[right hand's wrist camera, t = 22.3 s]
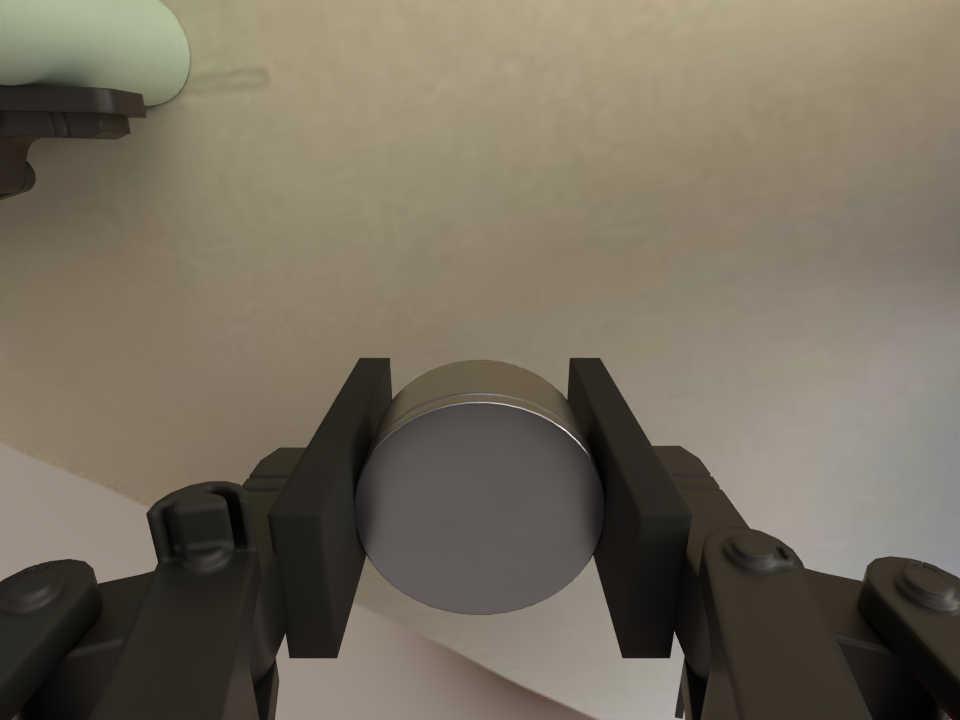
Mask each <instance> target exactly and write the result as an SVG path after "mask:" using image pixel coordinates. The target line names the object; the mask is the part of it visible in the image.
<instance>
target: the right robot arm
mask: <svg viewBox="0 0 960 720" xmlns="http://www.w3.org/2000/svg"><path fill="white" fill-rule="evenodd" d="M391 401H392V388H391V371H390V358H360V359H359V360H358V362H357V364H356V365H355V367H354V369H353V370H352V372H351V374H350V376H349V377H348V379H347V381H346V382H345V384H344V386H343V387H342V389H341V391H340V392H339V394H338V396H337V397H336V399H335V401H334V403H333V404H332V406H331V408H330V409H329V411H328V413H327V414H326V416H325V418H324V419H323V421H322V423H321V424H320V426H319V428H318V430H317V431H316V433H315V435H314V436H313V438H312V440H311V441H310V443H309V445H308V446H307V448H279V449H277V450H276V451H274V452H273V453H271V454H270V455H268V456H267V457H265V458H264V459H262V460H261V461H260V462H259V463H258V465H257V466H256V468H255V469H254V470H253V472H252V473H251V475H250V478H249V479H247V480H246V481H245V483H244V484H243V486H241V485H239V484H235V483H231V482H227V481H214V482H204V483H200V484H195V485H190V486H187V487H185V488H182V489H180V490H177V491H174V492H172V493H170V494H168V495H167V496H165V497H164V498H162V499H161V500H159V501H157V502H156V503H155V504H154V505H153V506H152V507H151V509H150V510H149V511H148V512H147V518H148V523H149V527H150V531H151V535H152V539H153V543H154V547H155V551H156V555H157V559H158V564H157V567H156V569H155V571H152V572H148V573H145V574H141V575H137V576H132V577H127V578H123V579H118V580H113V581H109V582H104V583H99V584H97V580H96V577H95V574H94V570H93V568H92V567H91V566H89V565H88V564H87V563H86V562H85V561H78V560H72V559H66V560H57V561H49V562H45V563H41V564H39V565H34V566H31V567H28V568H26V569H24V570H22V571H20V572H18V573H16V574H14V575H12V576H10V577H8V578H6V579H4V580H2V581H1V582H0V720H275V713H276V704H277V696H278V687H279V677H278V669H277V663H276V655H277V652H278V650H279V647H280V645H281V642H282V640H283V638H284V635H285V633H286V638H287V644H288V651H289V657H290V658H337V657H338V653H339V650H340V646H341V642H342V639H343V635H344V632H345V628H346V625H347V621H348V618H349V614H350V611H351V607H352V604H353V600H354V597H355V593H356V590H357V586H358V583H359V579H360V576H361V572H362V568H363V565H364V561H365V558H366V553H365V552H364V549H363V547H362V545H361V542H360V540H359V537H358V534H357V530H356V521H355V510H354V494H355V489H356V484H357V481H358V478H359V475H360V472H361V470H362V467H363V464H364V462H365V459H366V456H367V454H368V451H369V448H370V446H371V443H372V441H373V438H374V435H375V433H376V430H377V427H378V425H379V422H380V419H381V417H382V416H383V414H384V412H385V410H386V408H387V407H388V405H389V404H390V403H391ZM567 401H568V402H569V403H570V404H571V406H572V408H573V409H574V411H575V413H576V414H577V416H578V418H579V421H580V423H581V426H582V428H583V431H584V433H585V436H586V439H587V441H588V444H589V447H590V449H591V452H592V455H593V457H594V460H595V463H596V465H597V468H598V471H599V473H600V476H601V478H602V482H603V487H604V491H605V499H606V505H605V517H604V527H603V533H602V536H601V538H600V541H599V544H598V546H597V549H596V550H595V552H594V554H593V556H594V559H595V563H596V566H597V570H598V573H599V577H600V580H601V584H602V587H603V591H604V594H605V598H606V601H607V605H608V608H609V612H610V616H611V619H612V623H613V626H614V630H615V633H616V637H617V640H618V644H619V647H620V651H621V654H622V658H670V655H671V648H672V642H673V636H674V631H675V633H676V636H677V638H678V641H679V643H680V646H681V648H682V650H683V653H684V655H685V657H684V663H683V669H682V675H681V681H680V687H679V693H678V699H677V705H676V712H675V717H676V718H681V719H682V718H683V713H684V712H685V720H950V719H951V720H960V579H959V578H958V577H956V576H954V575H952V574H950V573H948V572H946V571H944V570H942V569H940V568H938V567H936V566H934V565H931V564H928V563H925V562H924V563H923V562H921V561H918V560H913V559H909V558H900V557H884V558H878V559H875V560H874V561H873V562H871V563H870V564H869V565H868V566H867V569H866V572H865V575H864V579H863V581H858V580H853V579H849V578H844V577H839V576H835V575H830V574H825V573H820V572H817V571H813V570H809V569H806V568H804V566H803V563H802V561H801V560H800V559H799V557H798V556H797V555H796V553H795V552H794V551H793V550H792V549H791V548H790V547H788V546H787V545H786V544H784V543H783V542H782V541H780V540H779V539H777V538H775V537H772V536H770V535H768V534H766V533H764V532H761V531H758V530H753V529H750V528H749V527H748V525H747V524H746V522H745V521H744V520H743V518H742V517H741V515H740V514H739V513H738V511H737V510H736V509H735V507H734V506H733V504H732V503H731V502H730V500H729V499H728V498H727V496H726V495H725V493H724V492H723V491H722V490H720V489H719V485H718V484H717V482H716V481H715V480H714V478H713V477H711V476H710V473H709V471H708V470H707V469H706V467H705V466H704V464H703V463H702V462H701V460H700V459H699V458H698V457H696V456H694V455H693V454H691V453H690V452H688V451H687V450H685V449H684V448H682V447H681V446H652V445H651V444H650V442H649V440H648V439H647V437H646V435H645V434H644V432H643V430H642V428H641V427H640V425H639V423H638V422H637V420H636V418H635V417H634V415H633V413H632V412H631V410H630V408H629V407H628V405H627V403H626V401H625V400H624V398H623V396H622V395H621V393H620V391H619V390H618V388H617V386H616V385H615V383H614V381H613V380H612V378H611V376H610V374H609V373H608V371H607V369H606V368H605V366H604V364H603V363H602V361H601V359H600V358H570V366H569V382H568V399H567Z"/></svg>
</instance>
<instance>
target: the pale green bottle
mask: <svg viewBox="0 0 960 720" xmlns="http://www.w3.org/2000/svg"><path fill="white" fill-rule="evenodd" d="M189 66H190V52H189V46H188V42H187V39H186V36H185V33H184V31H183V29H182V27H181V25H180V23H179V21H178V20H177V18H176V17H175V16H174V14H173V13H172V12H171V11H170V10H169V9H168V8H167V7H166V6H165V5H164V4H163V3H162V2H161V1H159V0H0V85H29V86H66V87H97V88H109V89H117V90H122V91H128V92H133V93H139V94H143V100H144V106H154V105H159V104H162V103H165V102H167V101H169V100H170V99H172V98H173V97H174V96H175V95H176V94H178V92H179V91H180V90H181V89H182V87H183V85H184V84H185V81H186V79H187V76H188V72H189Z"/></svg>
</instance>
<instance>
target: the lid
mask: <svg viewBox="0 0 960 720" xmlns="http://www.w3.org/2000/svg"><path fill="white" fill-rule="evenodd" d="M605 505H606V499H605V491H604V487H603V482H602V478H601V476H600V473H599V471H598V468H597V465H596V463H595V460H594V457H593V455H592V452H591V449H590V447H589V444H588V441H587V439H586V436H585V433H584V431H583V428H582V426H581V423H580V421H579V418H578V416H577V414H576V413H575V411H574V409H573V408H572V406H571V404H570V403H569V402H568V401H567V399H566V398H565V397H564V396H563V395H562V394H561V393H560V392H559V391H558V390H557V389H556V388H555V387H554V386H553V385H552V384H550V383H549V382H547V381H546V380H545V379H543V378H542V377H540V376H538V375H536V374H534V373H533V372H531V371H529V370H526V369H524V368H521V367H518V366H516V365H512V364H508V363H504V362H498V361H489V360H469V361H462V362H455V363H452V364H448V365H444V366H441V367H438V368H436V369H433V370H431V371H429V372H427V373H425V374H423V375H421V376H420V377H418V378H416V379H415V380H413V381H412V382H411V383H409V384H408V385H407V386H406V387H404V388H403V389H402V390H401V391H400V392H399V393H398V394H397V395H396V396H395V397H394V399H393V400H392V401H391V403H390V404H389V405H388V407H387V408H386V410H385V412H384V414H383V416H382V417H381V419H380V422H379V425H378V427H377V430H376V433H375V435H374V438H373V441H372V443H371V446H370V448H369V451H368V454H367V456H366V459H365V462H364V464H363V467H362V470H361V472H360V475H359V478H358V481H357V484H356V489H355V494H354V510H355V521H356V530H357V534H358V537H359V540H360V542H361V545H362V547H363V549H364V552H365V553H366V555H367V556H368V558H369V560H370V561H371V563H372V564H373V565H374V567H375V568H376V569H377V570H378V572H379V573H380V574H381V575H382V576H383V577H384V578H385V579H386V580H387V581H388V582H389V583H390V584H392V585H393V586H394V587H396V588H397V589H398V590H400V591H401V592H402V593H404V594H406V595H408V596H409V597H411V598H413V599H415V600H417V601H419V602H421V603H424V604H426V605H428V606H431V607H434V608H437V609H441V610H444V611H449V612H454V613H459V614H471V615H490V614H499V613H506V612H511V611H515V610H519V609H522V608H525V607H528V606H531V605H534V604H536V603H538V602H541V601H543V600H545V599H547V598H549V597H550V596H552V595H554V594H555V593H557V592H558V591H560V590H561V589H563V588H564V587H565V586H566V585H568V584H569V583H570V582H571V581H572V580H573V579H574V578H575V577H576V576H577V575H578V574H579V573H580V572H581V571H582V570H583V569H584V567H585V566H586V565H587V563H588V562H589V561H590V559H591V557H592V556H593V554H594V552H595V550H596V549H597V546H598V544H599V541H600V538H601V536H602V533H603V527H604V517H605Z"/></svg>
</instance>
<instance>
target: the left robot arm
mask: <svg viewBox="0 0 960 720" xmlns="http://www.w3.org/2000/svg"><path fill="white" fill-rule="evenodd" d="M128 117H137V118H146V112H145V106H144V100H143V94H139V93H133V92H128V91H122V90H117V89H109V88H97V87H66V86H29V85H0V200H2V199H5V198H8V197H11V196H14V195H17V194H20V193H23V192H26V191H29V190H30V189H32V187H33V186H34V184H35V179H36V177H35V172H34V170H33V168H32V166H31V165H30V164H29V163H28V162H27V161H26V159H27V151H28V148H29V146H30V145H31V143H32V142H33V141H35V140H37V139H39V138H83V139H118V138H121V137H123V136H125V135H127V134H130V129H129V123H128Z"/></svg>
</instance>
